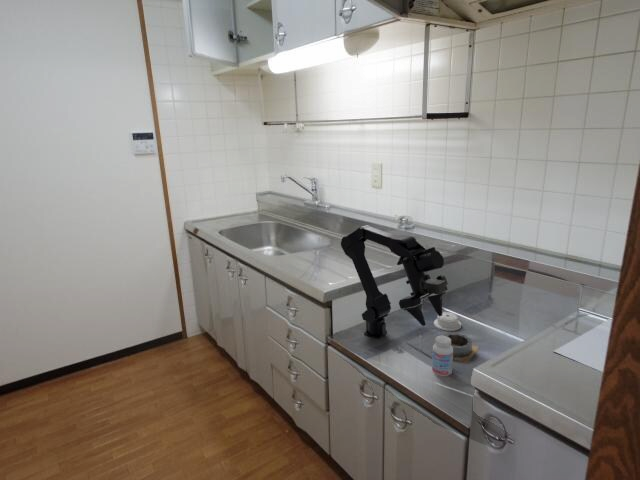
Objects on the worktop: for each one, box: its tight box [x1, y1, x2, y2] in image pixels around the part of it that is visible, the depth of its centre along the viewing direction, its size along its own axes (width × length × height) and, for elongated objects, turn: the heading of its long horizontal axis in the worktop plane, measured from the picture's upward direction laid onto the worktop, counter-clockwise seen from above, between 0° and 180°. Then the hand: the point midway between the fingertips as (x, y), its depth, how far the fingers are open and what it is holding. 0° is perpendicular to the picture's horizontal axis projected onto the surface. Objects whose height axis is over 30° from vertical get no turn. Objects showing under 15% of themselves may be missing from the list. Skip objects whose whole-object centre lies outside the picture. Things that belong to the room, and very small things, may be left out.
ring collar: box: [442, 332, 473, 358], centre depth 135 cm, size 10×10×4 cm
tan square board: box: [431, 344, 480, 364], centre depth 136 cm, size 12×12×1 cm
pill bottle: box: [431, 335, 454, 377], centre depth 124 cm, size 6×6×11 cm
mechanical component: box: [433, 311, 462, 332], centre depth 153 cm, size 10×4×10 cm
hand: (432, 320), depth 129 cm, fingers open, 9 cm apart
